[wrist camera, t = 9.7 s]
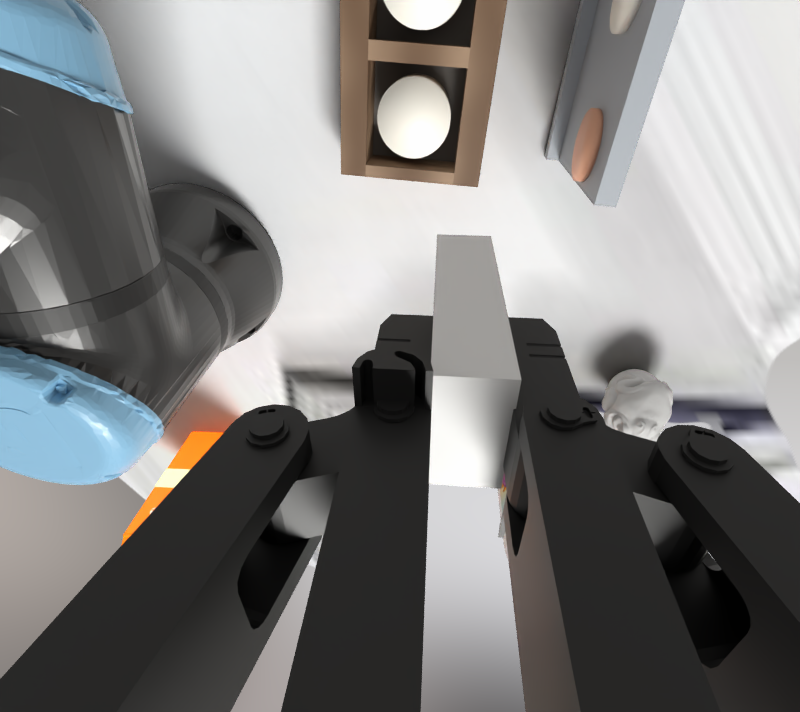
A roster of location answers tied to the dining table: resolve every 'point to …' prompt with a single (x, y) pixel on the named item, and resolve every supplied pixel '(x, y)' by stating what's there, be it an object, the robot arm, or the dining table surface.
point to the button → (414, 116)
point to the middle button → (422, 12)
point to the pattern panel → (609, 90)
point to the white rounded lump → (637, 404)
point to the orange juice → (174, 474)
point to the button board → (426, 54)
